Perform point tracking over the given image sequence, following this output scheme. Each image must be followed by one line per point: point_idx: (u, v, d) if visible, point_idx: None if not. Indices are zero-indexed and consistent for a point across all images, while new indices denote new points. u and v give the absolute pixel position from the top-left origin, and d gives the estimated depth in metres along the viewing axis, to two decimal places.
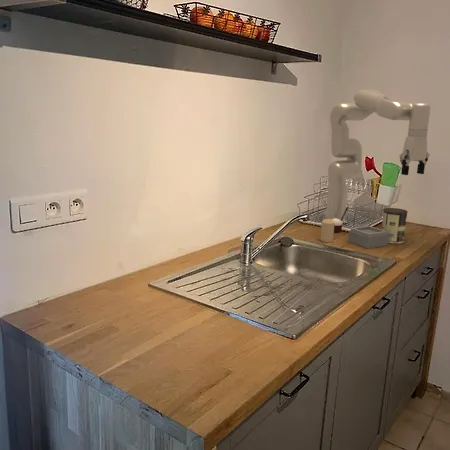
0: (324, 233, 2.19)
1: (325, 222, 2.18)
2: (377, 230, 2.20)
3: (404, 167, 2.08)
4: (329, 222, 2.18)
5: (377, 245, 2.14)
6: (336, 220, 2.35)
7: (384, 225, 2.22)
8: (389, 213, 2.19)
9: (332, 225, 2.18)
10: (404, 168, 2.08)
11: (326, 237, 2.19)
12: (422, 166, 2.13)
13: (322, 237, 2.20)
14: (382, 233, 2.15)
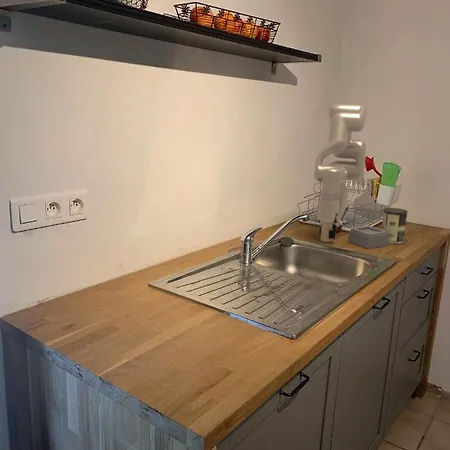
0: (324, 233, 2.19)
1: None
2: (377, 230, 2.20)
3: (334, 231, 2.18)
4: None
5: (377, 245, 2.14)
6: None
7: (384, 225, 2.22)
8: (389, 213, 2.19)
9: None
10: (334, 232, 2.18)
11: (326, 237, 2.19)
12: None
13: (322, 237, 2.20)
14: (382, 233, 2.15)
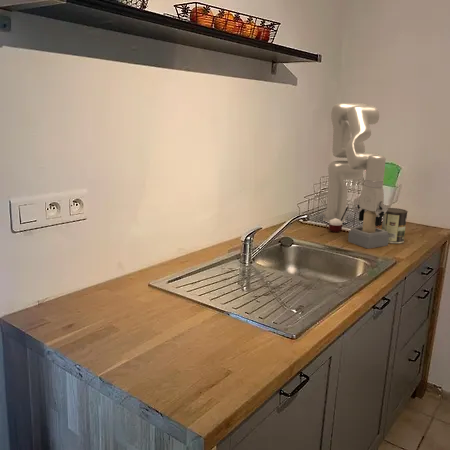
0: (367, 224, 2.15)
1: (368, 213, 2.15)
2: (377, 230, 2.20)
3: (381, 218, 2.12)
4: (372, 213, 2.14)
5: (377, 245, 2.14)
6: (336, 220, 2.35)
7: (384, 225, 2.22)
8: (389, 213, 2.19)
9: (375, 216, 2.15)
10: (381, 219, 2.12)
11: (368, 229, 2.15)
12: None
13: (364, 228, 2.17)
14: (382, 233, 2.15)
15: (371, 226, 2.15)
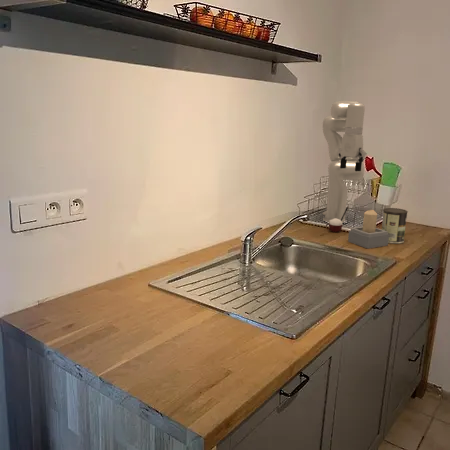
0: (367, 224, 2.15)
1: (368, 213, 2.15)
2: (377, 230, 2.20)
3: (360, 164, 2.22)
4: (372, 213, 2.14)
5: (377, 245, 2.14)
6: (336, 220, 2.35)
7: (384, 225, 2.22)
8: (389, 213, 2.19)
9: (375, 216, 2.14)
10: (360, 165, 2.22)
11: (368, 229, 2.15)
12: (345, 161, 2.31)
13: (364, 229, 2.17)
14: (382, 233, 2.15)
15: (371, 226, 2.15)
